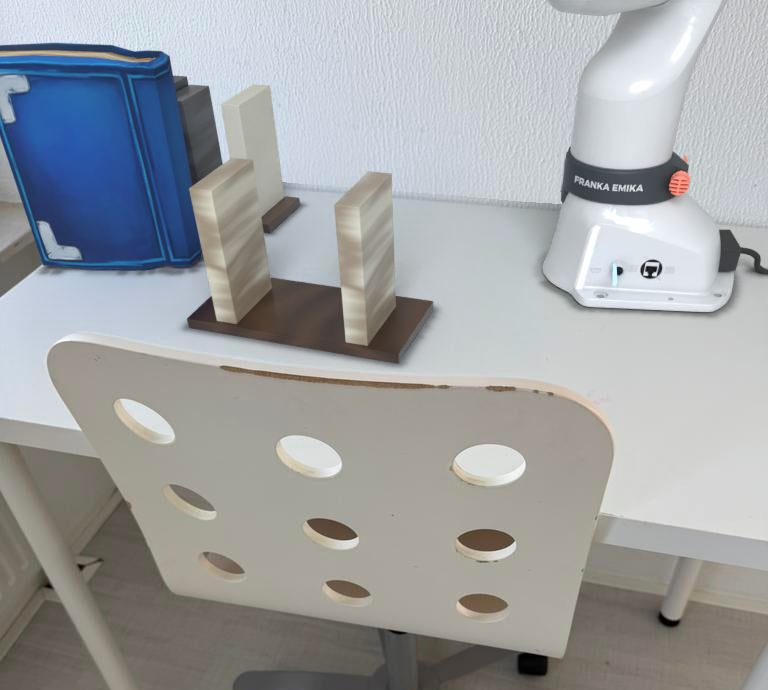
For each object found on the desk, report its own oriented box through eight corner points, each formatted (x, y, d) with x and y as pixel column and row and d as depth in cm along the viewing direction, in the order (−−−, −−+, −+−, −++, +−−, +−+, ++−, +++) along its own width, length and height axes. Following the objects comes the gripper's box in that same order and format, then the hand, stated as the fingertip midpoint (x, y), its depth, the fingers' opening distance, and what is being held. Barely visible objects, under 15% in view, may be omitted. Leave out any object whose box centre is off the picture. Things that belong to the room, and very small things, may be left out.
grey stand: (300, 205, 114) (285, 76, 102) (270, 233, 107) (250, 99, 96) (201, 194, 119) (176, 70, 107) (166, 220, 112) (135, 90, 100)
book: (215, 249, 104) (173, 38, 87) (201, 274, 99) (153, 54, 82) (63, 248, 106) (-7, 42, 89) (41, 272, 101) (-37, 58, 84)
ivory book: (284, 197, 114) (270, 85, 103) (256, 221, 107) (238, 105, 97) (268, 195, 114) (253, 84, 104) (240, 219, 108) (220, 103, 98)
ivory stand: (433, 310, 90) (434, 167, 79) (398, 363, 82) (394, 213, 71) (238, 281, 97) (213, 146, 86) (188, 327, 89) (154, 186, 78)
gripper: (240, -55, 110) (200, -25, 102) (377, -45, 107) (347, -12, 98) (247, -5, 115) (209, 29, 107) (378, 7, 111) (349, 42, 103)
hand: (276, 9), depth 102 cm, fingers open, 8 cm apart
